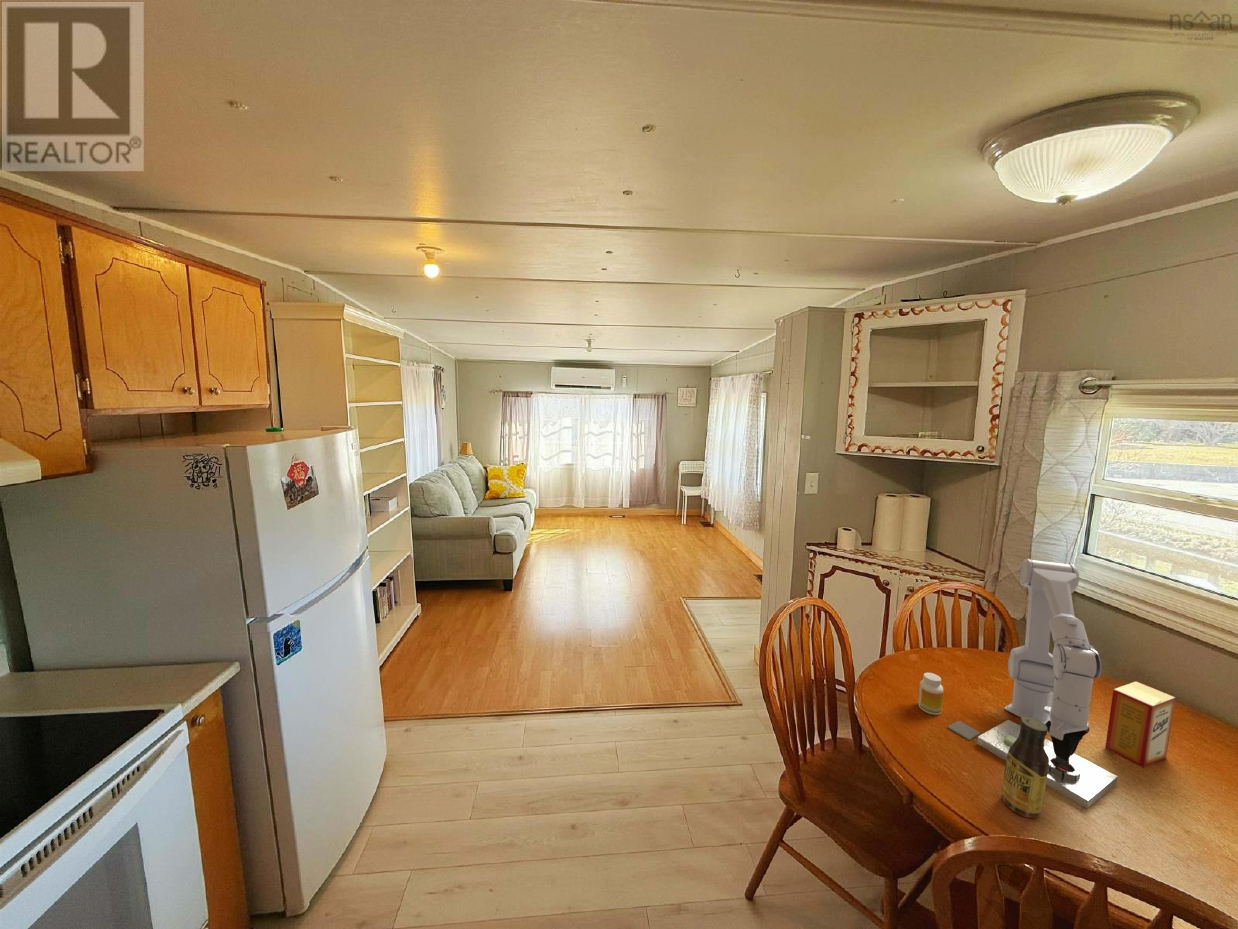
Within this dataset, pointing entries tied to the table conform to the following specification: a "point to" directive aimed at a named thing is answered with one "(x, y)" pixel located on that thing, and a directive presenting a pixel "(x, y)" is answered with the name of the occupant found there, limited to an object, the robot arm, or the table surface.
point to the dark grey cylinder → (1062, 761)
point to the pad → (1010, 740)
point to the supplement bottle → (931, 694)
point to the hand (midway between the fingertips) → (1063, 755)
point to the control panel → (1075, 783)
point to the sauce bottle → (1026, 770)
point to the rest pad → (964, 730)
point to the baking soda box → (1140, 723)
